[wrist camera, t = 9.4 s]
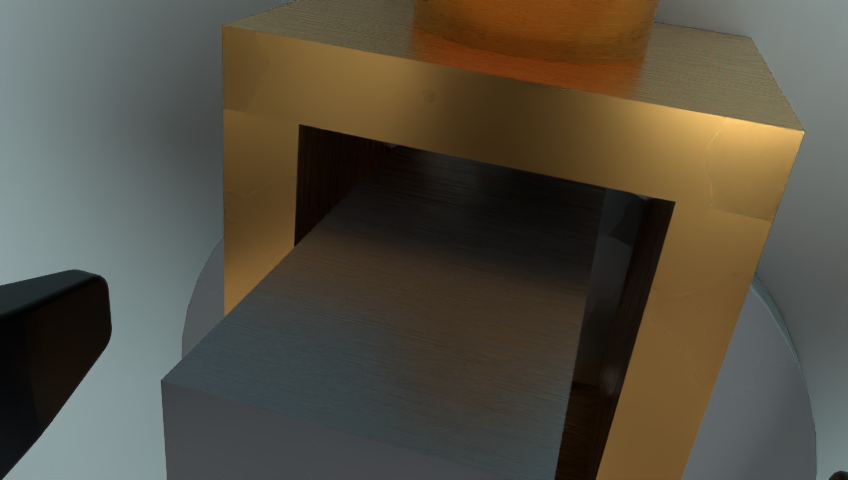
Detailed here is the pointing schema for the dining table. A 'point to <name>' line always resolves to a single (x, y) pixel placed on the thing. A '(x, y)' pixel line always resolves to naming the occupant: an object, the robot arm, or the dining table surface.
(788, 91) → the dining table surface
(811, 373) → the dining table surface
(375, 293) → the tall grey box
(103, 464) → the dining table surface
